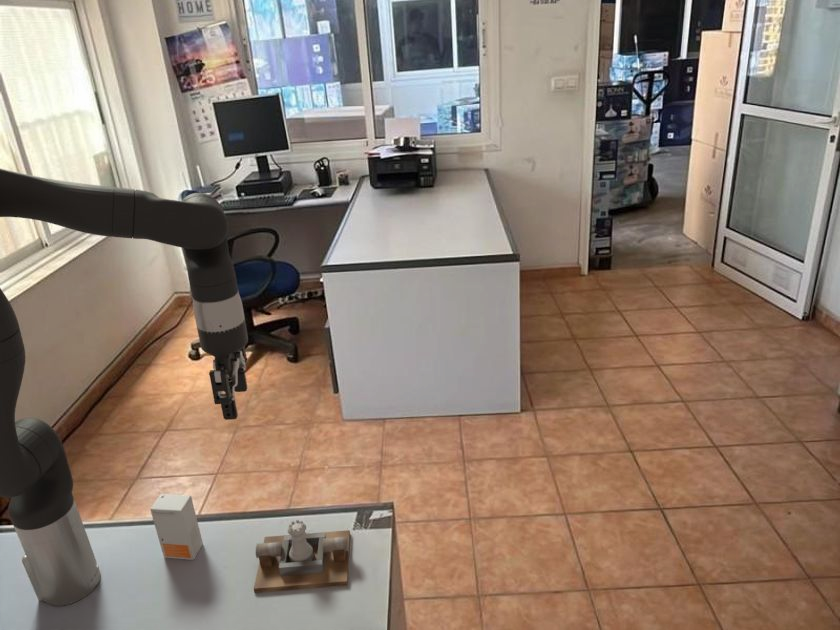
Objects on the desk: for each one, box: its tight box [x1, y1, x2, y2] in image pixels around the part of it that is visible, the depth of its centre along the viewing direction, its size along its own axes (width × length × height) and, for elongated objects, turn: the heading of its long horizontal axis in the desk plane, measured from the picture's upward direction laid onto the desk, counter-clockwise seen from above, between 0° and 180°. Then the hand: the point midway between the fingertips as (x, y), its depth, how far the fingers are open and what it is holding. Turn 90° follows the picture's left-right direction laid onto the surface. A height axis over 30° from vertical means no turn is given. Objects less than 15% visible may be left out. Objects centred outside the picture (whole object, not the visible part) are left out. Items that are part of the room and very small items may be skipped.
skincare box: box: [150, 493, 203, 561], centre depth 118 cm, size 6×4×12 cm
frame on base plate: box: [253, 529, 351, 594], centre depth 115 cm, size 16×12×5 cm
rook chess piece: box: [287, 519, 314, 562], centre depth 114 cm, size 4×4×8 cm
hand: (236, 404), depth 110 cm, fingers open, 8 cm apart
